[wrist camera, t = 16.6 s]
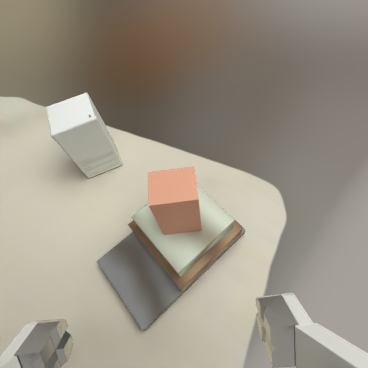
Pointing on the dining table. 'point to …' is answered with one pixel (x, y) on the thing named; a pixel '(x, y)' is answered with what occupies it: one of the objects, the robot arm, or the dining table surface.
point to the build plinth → (141, 280)
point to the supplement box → (83, 135)
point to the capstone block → (174, 200)
